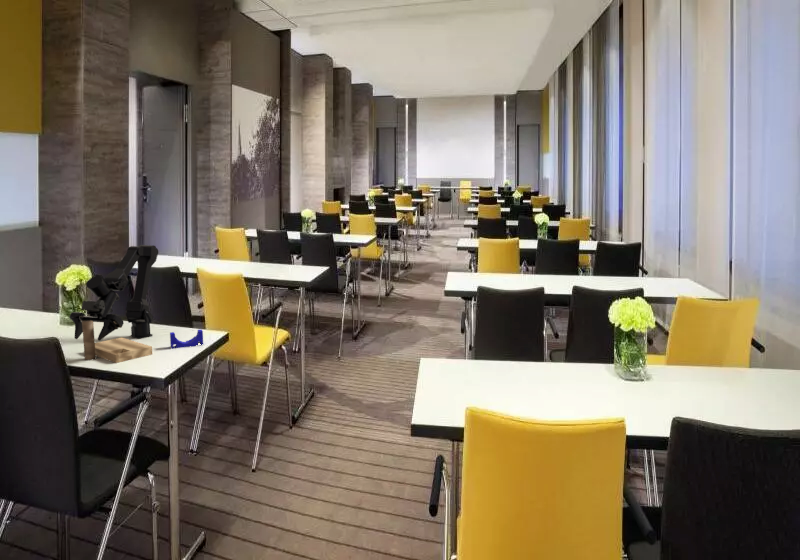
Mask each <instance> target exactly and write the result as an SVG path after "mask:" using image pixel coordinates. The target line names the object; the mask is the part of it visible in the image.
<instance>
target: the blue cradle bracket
mask: <svg viewBox="0 0 800 560" xmlns="http://www.w3.org/2000/svg"><path fill="white" fill-rule="evenodd" d="M203 331H204V330H203V329H197V332H196V335H195V336H193V337H192V338H191V339H189V340H185V341H181V340H180V339H178V338H177V337H176V332H175V331H172V332H169V339H170V340H169V341H170V342H169V343H170V348H172V349H181V348H182V349H183V348H189V347H190V346H191V347H197V346H196V345H198V342H199V343H200V344H201V345H200V346H203V345H204V332H203ZM202 344H203V345H202Z"/></svg>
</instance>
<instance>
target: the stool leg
mask: <svg viewBox="0 0 800 560" xmlns="http://www.w3.org/2000/svg"><path fill="white" fill-rule="evenodd" d="M94 328H95V327H94V322H93V321H83V322H82V329H83V332H82V339H83V353H84V360H85V361H93V360H96V359H97V356H96V353H95V343H96V341H95V329H94ZM95 358H96V359H95ZM92 359H93V360H92Z"/></svg>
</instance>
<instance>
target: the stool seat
mask: <svg viewBox="0 0 800 560" xmlns="http://www.w3.org/2000/svg"><path fill="white" fill-rule="evenodd" d="M95 353H96V357H98V356H99V357H98V358H101V359H103V358H104V360H106V359H107V361H109V360H110V362H113V363H115V364H117V363H122V362H126V361H131V360H134V359H139V358H142V357H146V356H151V355H153V345H152V346H150V345H148V344H144V343H141V342H138V341H134V340H131V339H128V338H124V337H116V338H113V339H107V340H103V341H98V342H95Z"/></svg>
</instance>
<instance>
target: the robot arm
mask: <svg viewBox="0 0 800 560" xmlns="http://www.w3.org/2000/svg"><path fill="white" fill-rule="evenodd" d="M158 255H159V249H158V248H157V247H156V245H152V244H151V245H150V244H149V245H148V244H140V245H137V246H134V245H131V246H129V247H127V251H126V253H125V255H123V258H122V259H121V261H120V262H119V263H118V265H117V266H116V268H115V269H114V270H112V271H110V272H109V273H108V274H106V276H105V277H104V276H103V275H102V274H98V273H97V274H95V276H93V277H91V278H89V279H88V280H86V288H87V289H89V291H90V293H92V294H93V295H94V296H95V297H97V300H96V301H92V300H82V304H81V308H80V310H82V311H86V314H87V315H85V314H84V312H82V311H81V312H80V311H72V312H71V313H70V315H69V316H68V318H69V319H70V320H71V321H72V322H73V323H74V339H75V340H78V339H79V338H80V337H81V336H82V335H83V329H82V322H83V321H93V323H103V325H102V328H101V330H100V332H99V333H98V337H97V340H98V342H101V340H103V339H104V338H105V337H107V336H108V335H110V334H111V333H112V332H114V331H115V330H118V329H119V328H120V329H121V328H123V326H124V320H123V319H122V318H121V316H120V315H119V314H118V313H113V311H114V310H113V306H114V305H115V302H117V301H120V296H119V293H116V292H122V291H124V290H125V289H126V287H127V286H128V285H127V284H128V282H129V280H128V276H129V274H130V273H131V272H132V269H133V268H134V266H135V265H136V263H137V264H138V268H137V272H136V273H137V274H136V278H135V285H134V291H133V297H132V299H131V300H128V301H127V302H126V308H125V316H126V319H127V322H128V324H129V323H131V327H130V330H131V331H130V333H131V334H130V337H131V336H132V338H135V339H143V338H149V337H153V335H154V334H153V333H151V323H153V321H154V315H153V314H152V312H151V311H150V305H149V303H148V301H147V294H148V289H149V283H150V278H151V269H152V266H153V265H154V264H155V262H156V261H157V259H158Z"/></svg>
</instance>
